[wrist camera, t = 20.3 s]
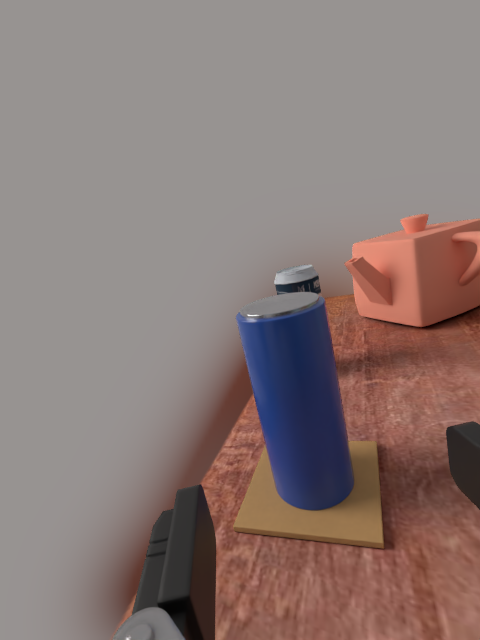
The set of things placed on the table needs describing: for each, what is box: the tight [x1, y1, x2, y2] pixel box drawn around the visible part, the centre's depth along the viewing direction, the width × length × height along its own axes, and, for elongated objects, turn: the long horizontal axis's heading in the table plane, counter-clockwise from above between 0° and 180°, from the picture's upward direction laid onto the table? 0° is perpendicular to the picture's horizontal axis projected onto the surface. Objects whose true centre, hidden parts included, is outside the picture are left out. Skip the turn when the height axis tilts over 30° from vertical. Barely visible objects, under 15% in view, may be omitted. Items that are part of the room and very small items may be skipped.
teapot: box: [345, 214, 480, 327], centre depth 49 cm, size 20×22×14 cm
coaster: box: [233, 441, 384, 549], centre depth 23 cm, size 8×8×1 cm
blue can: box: [236, 292, 354, 510], centre depth 21 cm, size 5×5×12 cm
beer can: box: [274, 265, 322, 297], centre depth 38 cm, size 5×5×12 cm
